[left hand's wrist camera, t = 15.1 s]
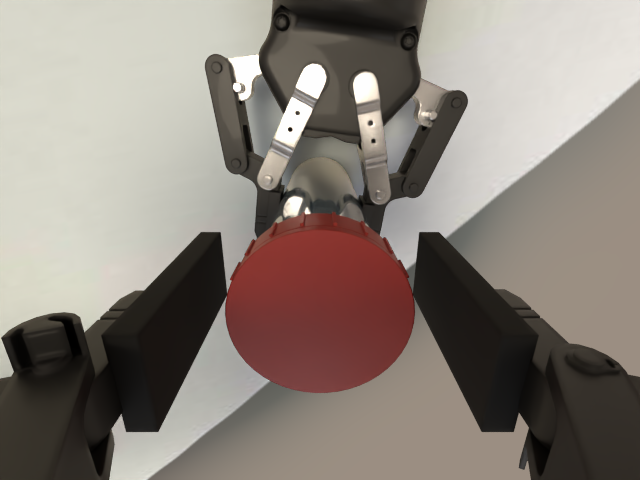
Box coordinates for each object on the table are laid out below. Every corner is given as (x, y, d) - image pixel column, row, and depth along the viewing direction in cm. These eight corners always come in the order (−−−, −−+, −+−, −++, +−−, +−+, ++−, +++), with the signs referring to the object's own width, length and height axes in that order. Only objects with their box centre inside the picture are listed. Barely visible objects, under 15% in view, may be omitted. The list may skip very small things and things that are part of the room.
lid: (369, 377, 13) (375, 413, 11) (218, 337, 12) (204, 370, 11) (432, 241, 11) (450, 263, 10) (259, 186, 10) (248, 200, 9)
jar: (291, 218, 28) (250, 372, 12) (287, 157, 26) (233, 238, 10) (350, 216, 28) (394, 367, 12) (350, 155, 26) (401, 232, 10)
